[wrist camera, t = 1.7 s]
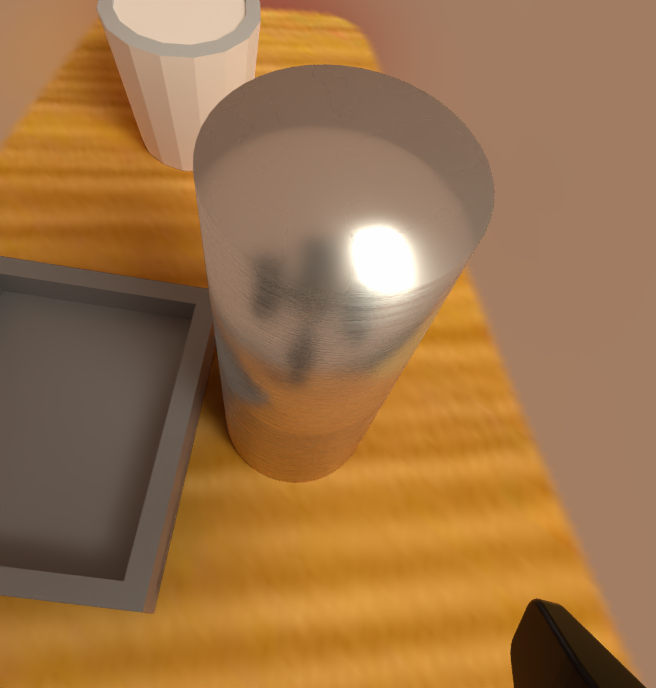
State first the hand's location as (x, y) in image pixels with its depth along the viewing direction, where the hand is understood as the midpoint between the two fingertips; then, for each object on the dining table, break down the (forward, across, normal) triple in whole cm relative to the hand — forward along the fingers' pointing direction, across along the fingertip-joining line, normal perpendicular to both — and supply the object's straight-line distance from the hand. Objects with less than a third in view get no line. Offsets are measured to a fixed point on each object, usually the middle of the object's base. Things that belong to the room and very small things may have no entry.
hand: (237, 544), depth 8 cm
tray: (+12, +8, +6) cm, 16 cm away
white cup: (+24, +9, -6) cm, 26 cm away
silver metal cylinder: (+14, 0, +4) cm, 15 cm away
